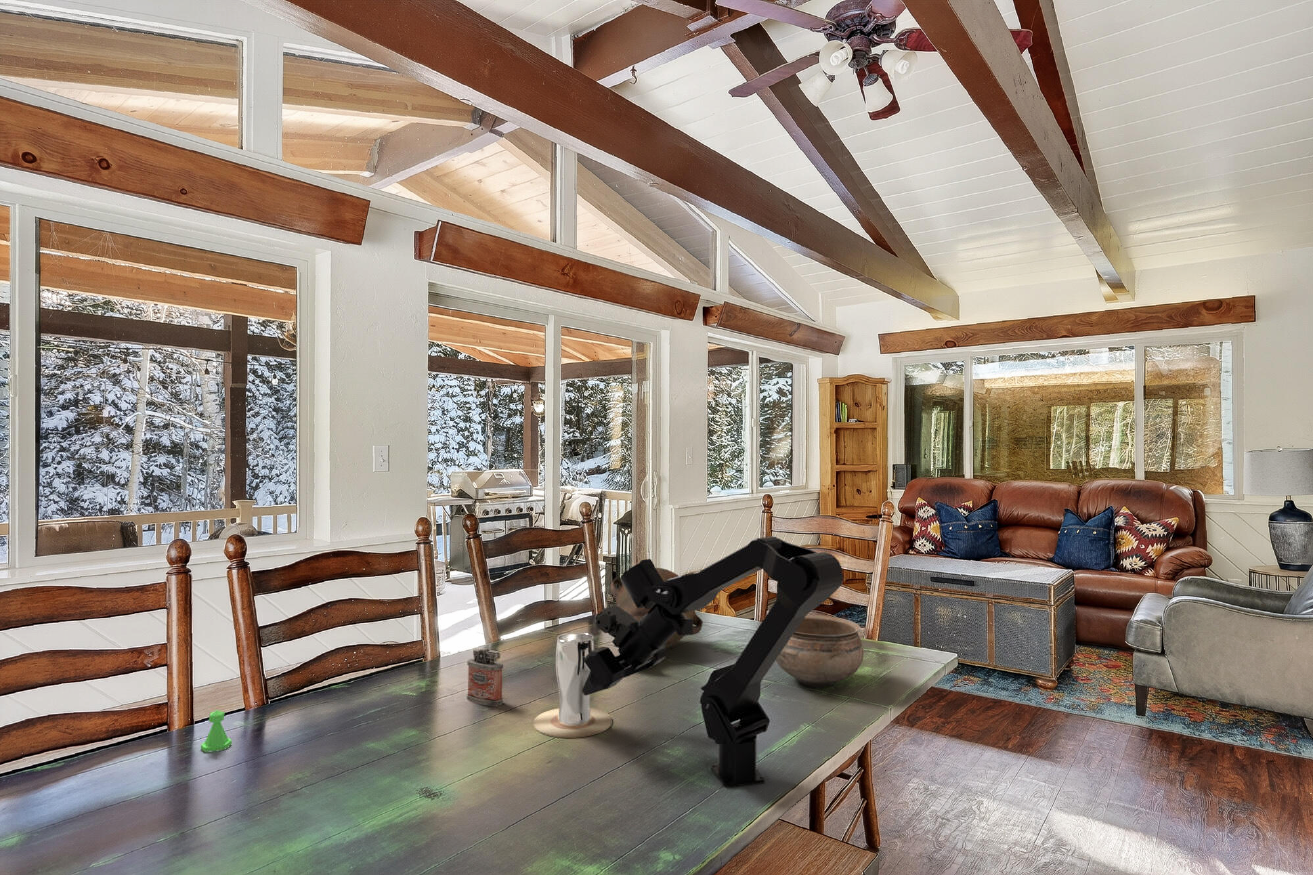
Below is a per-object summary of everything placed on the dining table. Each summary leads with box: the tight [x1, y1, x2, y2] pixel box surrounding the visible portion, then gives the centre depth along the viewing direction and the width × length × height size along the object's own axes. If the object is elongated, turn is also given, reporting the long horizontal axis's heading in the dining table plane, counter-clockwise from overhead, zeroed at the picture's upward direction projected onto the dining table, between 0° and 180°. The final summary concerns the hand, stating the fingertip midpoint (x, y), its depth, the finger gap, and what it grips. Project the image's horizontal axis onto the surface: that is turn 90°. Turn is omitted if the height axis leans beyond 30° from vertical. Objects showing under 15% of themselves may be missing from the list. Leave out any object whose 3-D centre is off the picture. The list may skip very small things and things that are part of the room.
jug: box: [609, 567, 704, 659], centre depth 175 cm, size 20×20×30 cm
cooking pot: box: [775, 614, 865, 688], centre depth 155 cm, size 25×19×12 cm
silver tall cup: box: [555, 631, 595, 727], centre depth 131 cm, size 7×7×15 cm
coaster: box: [532, 707, 613, 739], centre depth 131 cm, size 14×14×1 cm
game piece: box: [200, 709, 233, 753], centre depth 119 cm, size 4×4×6 cm
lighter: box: [466, 647, 504, 707], centre depth 141 cm, size 8×3×10 cm, turn 62°
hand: (599, 685), depth 128 cm, fingers open, 9 cm apart
